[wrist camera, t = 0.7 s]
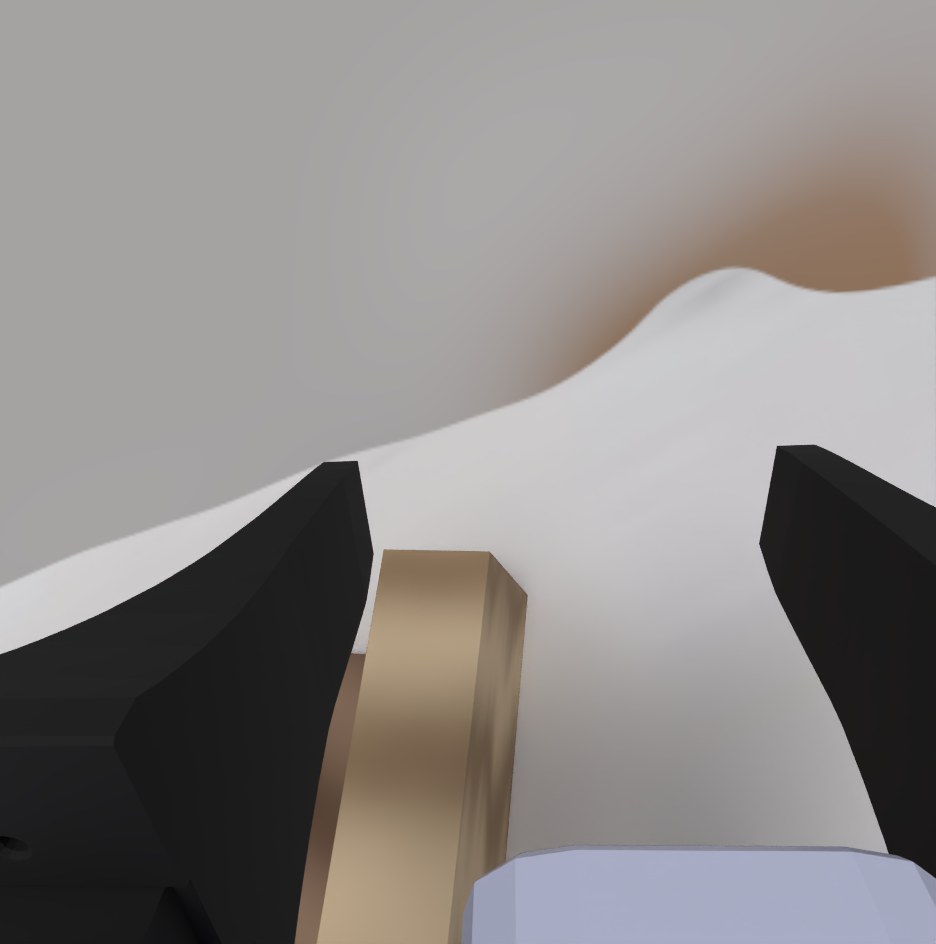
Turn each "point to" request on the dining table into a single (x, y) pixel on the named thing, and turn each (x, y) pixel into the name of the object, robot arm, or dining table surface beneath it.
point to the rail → (428, 750)
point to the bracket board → (328, 803)
